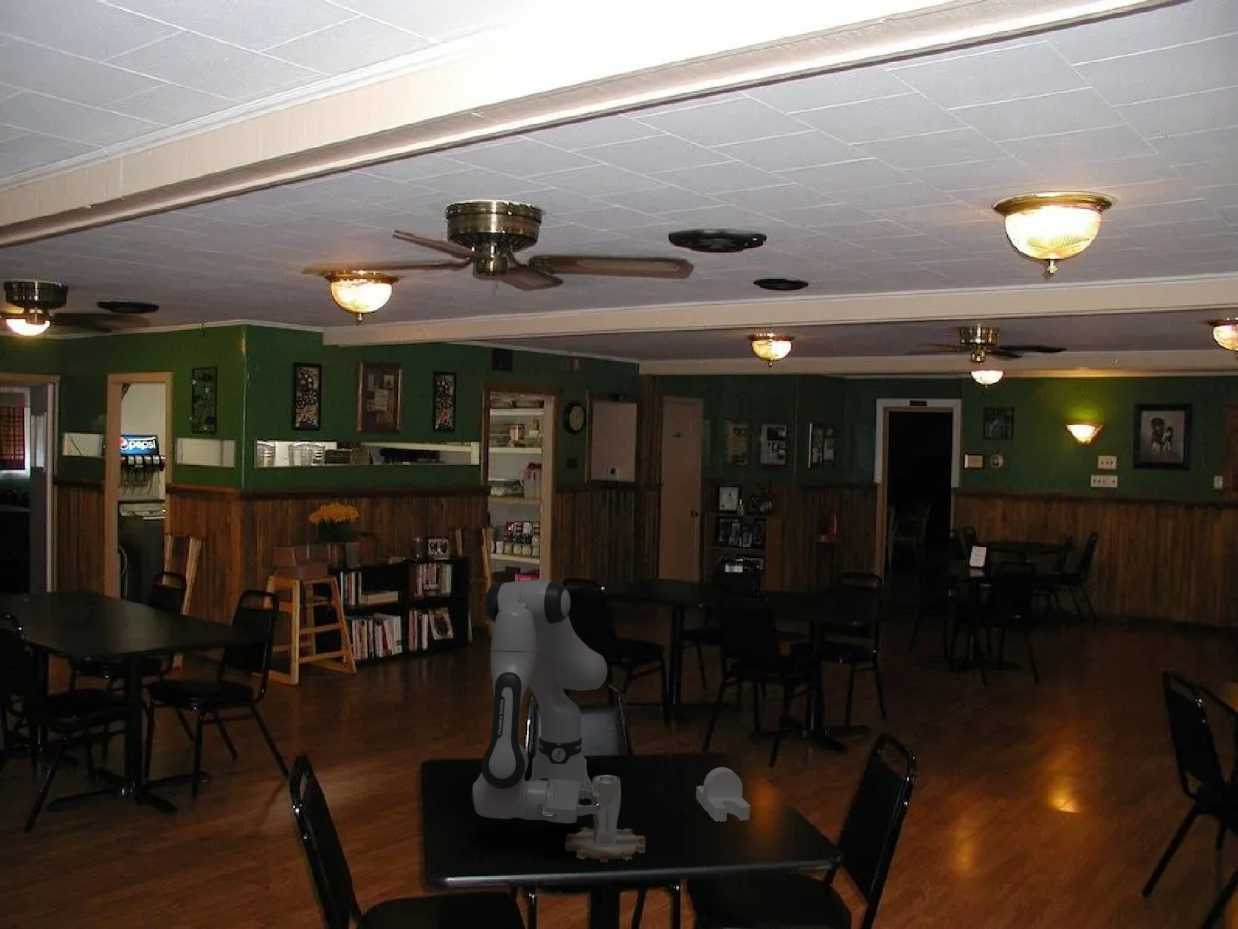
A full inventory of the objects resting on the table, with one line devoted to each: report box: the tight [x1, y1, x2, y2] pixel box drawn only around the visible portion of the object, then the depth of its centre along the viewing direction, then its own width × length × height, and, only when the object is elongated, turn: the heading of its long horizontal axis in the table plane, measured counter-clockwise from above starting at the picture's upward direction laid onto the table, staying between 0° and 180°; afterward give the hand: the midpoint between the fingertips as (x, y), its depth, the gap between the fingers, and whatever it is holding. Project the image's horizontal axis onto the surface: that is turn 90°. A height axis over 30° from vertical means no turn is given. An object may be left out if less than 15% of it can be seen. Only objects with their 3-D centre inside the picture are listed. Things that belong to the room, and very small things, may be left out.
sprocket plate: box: [564, 826, 646, 863], centre depth 263 cm, size 19×19×2 cm
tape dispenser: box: [695, 766, 751, 822], centre depth 291 cm, size 10×18×11 cm, turn 13°
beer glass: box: [591, 774, 622, 846], centre depth 261 cm, size 7×7×15 cm
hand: (598, 802), depth 262 cm, fingers open, 8 cm apart
